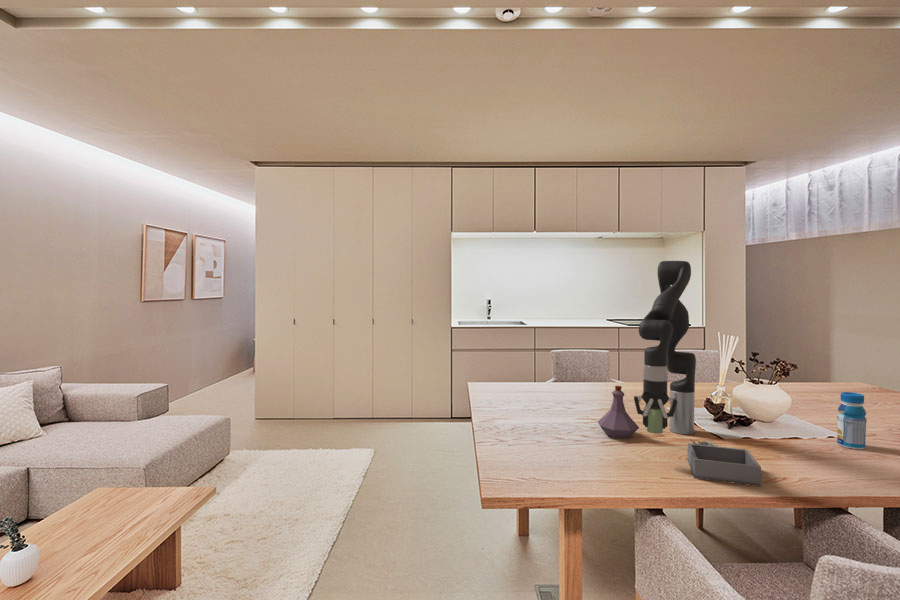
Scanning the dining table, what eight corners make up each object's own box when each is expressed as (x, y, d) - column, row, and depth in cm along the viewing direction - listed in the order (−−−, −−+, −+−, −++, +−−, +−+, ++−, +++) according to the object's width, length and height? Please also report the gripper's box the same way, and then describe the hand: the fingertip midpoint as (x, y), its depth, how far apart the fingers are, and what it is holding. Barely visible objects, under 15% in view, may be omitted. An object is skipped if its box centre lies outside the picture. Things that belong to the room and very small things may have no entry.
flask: (601, 426, 201) (602, 380, 200) (642, 432, 192) (643, 384, 192) (592, 437, 187) (592, 387, 186) (635, 444, 178) (636, 392, 178)
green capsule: (646, 428, 162) (646, 405, 162) (662, 429, 160) (662, 406, 160) (647, 432, 157) (647, 409, 157) (663, 434, 156) (663, 410, 155)
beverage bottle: (855, 451, 171) (856, 397, 170) (830, 443, 179) (832, 392, 178) (871, 448, 173) (873, 395, 172) (846, 441, 181) (848, 390, 180)
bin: (687, 460, 162) (687, 443, 162) (747, 467, 156) (747, 449, 155) (694, 478, 147) (694, 459, 147) (760, 486, 141) (761, 467, 140)
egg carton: (687, 448, 174) (688, 438, 174) (707, 448, 174) (707, 437, 174) (704, 459, 164) (704, 447, 163) (725, 459, 164) (725, 447, 164)
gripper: (677, 377, 159) (676, 426, 160) (632, 374, 164) (632, 422, 165) (679, 381, 152) (679, 433, 153) (633, 378, 157) (632, 428, 158)
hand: (654, 427), depth 159 cm, fingers closed on green capsule, 5 cm apart
